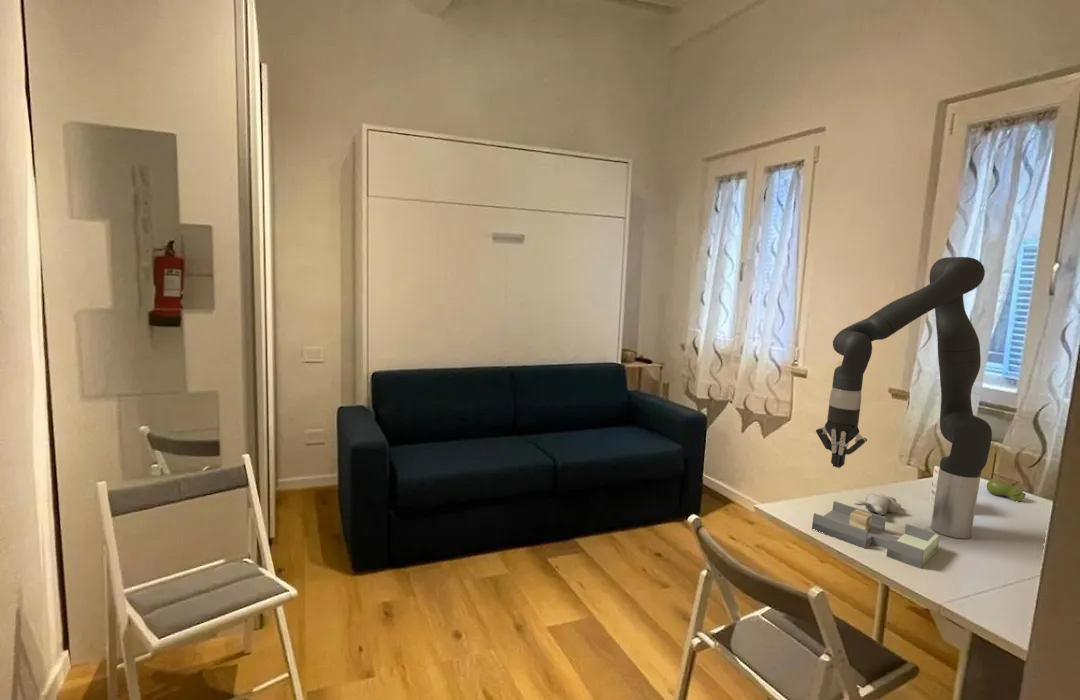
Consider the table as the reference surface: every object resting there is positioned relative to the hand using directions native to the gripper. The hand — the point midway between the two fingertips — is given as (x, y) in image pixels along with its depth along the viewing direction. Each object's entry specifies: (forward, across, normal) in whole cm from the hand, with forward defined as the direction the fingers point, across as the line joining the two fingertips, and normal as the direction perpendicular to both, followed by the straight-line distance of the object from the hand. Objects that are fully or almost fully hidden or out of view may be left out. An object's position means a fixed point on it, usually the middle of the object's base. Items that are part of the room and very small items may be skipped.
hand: (837, 466), depth 163 cm
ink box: (+17, -17, -42) cm, 48 cm away
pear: (+17, -27, -68) cm, 76 cm away
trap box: (+17, -11, 0) cm, 20 cm away
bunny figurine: (+17, -5, -21) cm, 28 cm away
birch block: (+15, -8, 0) cm, 17 cm away
